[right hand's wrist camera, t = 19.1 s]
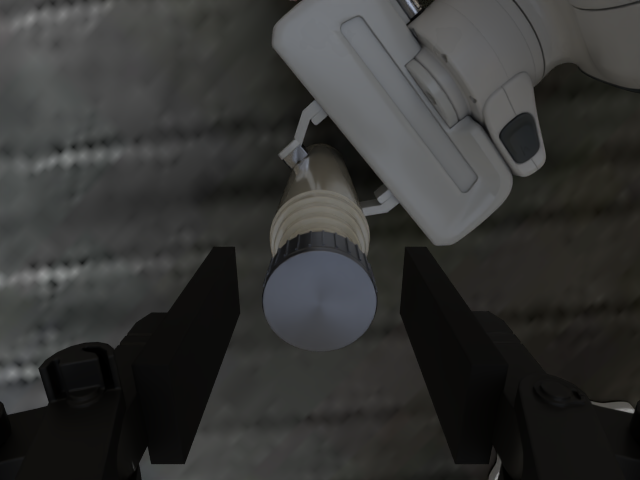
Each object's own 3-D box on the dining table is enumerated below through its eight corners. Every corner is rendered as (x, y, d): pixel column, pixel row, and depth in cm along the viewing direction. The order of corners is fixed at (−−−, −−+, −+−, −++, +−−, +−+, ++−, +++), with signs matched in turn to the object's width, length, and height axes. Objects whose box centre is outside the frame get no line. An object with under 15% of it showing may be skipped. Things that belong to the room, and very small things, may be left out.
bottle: (301, 137, 35) (266, 213, 12) (352, 151, 35) (409, 250, 13) (288, 187, 36) (237, 337, 14) (337, 200, 37) (365, 367, 14)
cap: (282, 332, 15) (277, 363, 14) (254, 241, 14) (245, 263, 12) (380, 312, 15) (387, 341, 13) (360, 218, 14) (366, 237, 12)
